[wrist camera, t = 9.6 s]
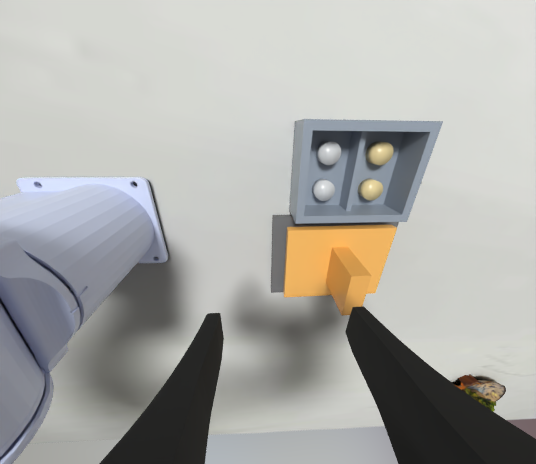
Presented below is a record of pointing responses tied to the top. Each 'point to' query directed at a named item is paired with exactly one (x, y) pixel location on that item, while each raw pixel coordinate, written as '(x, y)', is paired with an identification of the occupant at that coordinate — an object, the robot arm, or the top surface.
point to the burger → (482, 390)
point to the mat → (280, 244)
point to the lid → (336, 262)
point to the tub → (358, 169)
